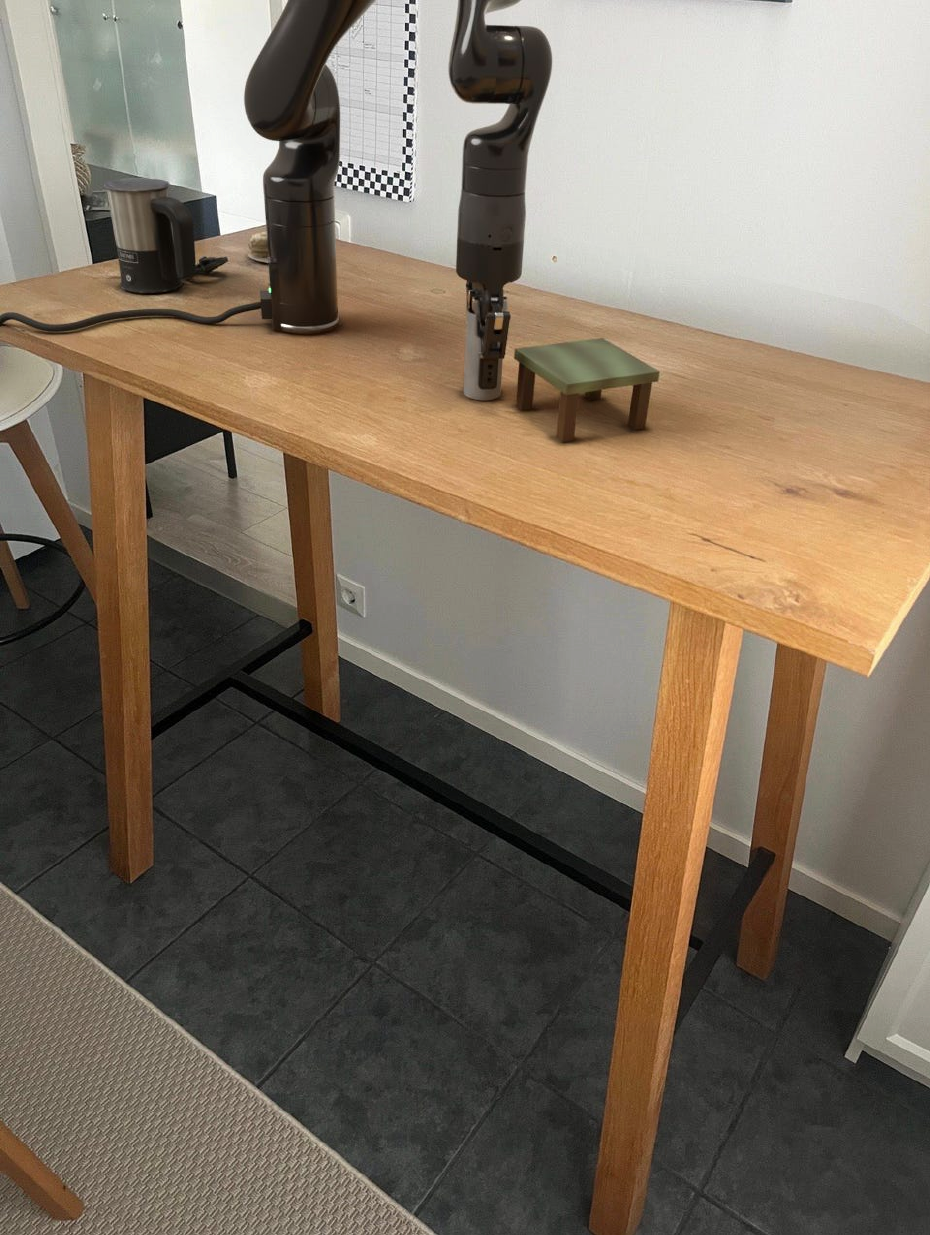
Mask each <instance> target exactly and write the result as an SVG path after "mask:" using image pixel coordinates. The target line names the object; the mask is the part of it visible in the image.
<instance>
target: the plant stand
mask: <svg viewBox="0 0 930 1235" xmlns="http://www.w3.org/2000/svg"><path fill="white" fill-rule="evenodd" d="M513 358H514V360H516V361H517V362H518V373H517V386H516V387H517V388H516V401H515V407H516V409H519V411H521V412H524V411H531V410H533V405H534V394H535V381H536V375H537V376H538V377H540V378H541V379H542V380H544V381H545V382H547V383H548V384H550V385H551V386H553V387H554V388H555V389H557V390H558V391H559V392H560V393H559V401H558V402H559V403H558V412H557V421H556V432H555V438H556V440H558V441H559V442H561V443H569V442H574V441H575V434H576V426H577V425H576V424H577V416H578V406H579V396H580V394H582V393H583V394H584V397H585V398H586V399H588V400H589V401H597V400H601V399H602V393H603V392H602V391H603V390H610V389H616V388H617V389H618V388H623V387H624V388H625V387H631V386H632V391H631V399H630V405H629V411H628V412H629V413H628V419H627V427H629V428H630V429H632V430H633V431H639V430H640V431H641V430H645V429H646V424H647V418H648V412H649V406H650V400H651V393H652V386H653V383H657V382H659V380H660V379H659V378H660V373H661V371H660V370H658V369H657V368H655V367H653V366H652V365H650V364H648V363H646V362H645V361H643V360H641V359H639V358H638V357H636V356H634V355H633V354H631V353H629V352H627V351H626V350H624V349H623V348H621V347H619V346H617V345H615V343H612V342H610V341H609V340H607V339H605V338H604V337H599V338H598V337H597V338H589V339H583V340H573V341H567V342H565V341H564V342H557V343H549V344H541V345H533V346H526V347H517V348H514V355H513Z"/></svg>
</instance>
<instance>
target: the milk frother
mask: <svg viewBox="0 0 930 1235" xmlns="http://www.w3.org/2000/svg"><path fill="white" fill-rule="evenodd" d="M103 186H104V188H105V189H106V193H107V199H108V204H109V211H110V217H111V222H112V229H113V234H114V239H115V245H116V251H117V258H118V266H119V272H120V281H121V282H120V287H121V289H122V290H124V291H126V292H130V293H135V294H158V293H166V292H170V291H175V290H177V289H180V288H181V287H182V286H183V281H182V280H188V279H191V278H193V277H196V276H198V275H200V274H204V275H205V276H208V275H209V274H211V273H212V272H213V271H215V270H217V269H218V268H219V267H222V266H223V265H225V264H226V263H228V262H229V259H228V257H227V256H221V257H215V256H208V257H207V256H202V257H200V258H199V259H198V262H196V261H197V260H196V245H195V229H194V222H193V221H194V220H193V217H192V214H191V213H190V211H189V209H188V208H187V206H186V205H185V204H184V203H183V202H182V200H181V201H180V200H179V199H177V198H174V197H170V194H169V193H170V192H169V187H170V186H171V184H170V182H169V181H167V180H165V179H158V178H150V177H149V178H147V177H142V178H141V177H136V178H135V177H134V178H133V177H131V178H121V179H116V180H109V181H107V182H105V183H104V184H103Z"/></svg>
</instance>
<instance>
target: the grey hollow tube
mask: <svg viewBox="0 0 930 1235" xmlns="http://www.w3.org/2000/svg"><path fill="white" fill-rule="evenodd" d="M474 320H475V314H474V313H473V311H472V308H471V307H469V308H468V309H467V308H466V324H465V346H464V347H465V349H464V350H465V351H464V370H463V395H464V396H465V397H467V398H468V399H470V400H471V399H472V400H475V401H492V400H496V399H498V398H499V397H500V396H501V389H502V377H503V376H502V375H503V364H504V359H499V360H498V375H497V387H496V388H495V389H480V388H479V386H478V367H479V356H478V352H479V339H478V338H476V337H475V335H474ZM481 329H482V330H483V331H485V326H483V325H482V324H481ZM489 348H495V342H492V343H490V345H489Z"/></svg>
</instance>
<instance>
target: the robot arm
mask: <svg viewBox="0 0 930 1235" xmlns="http://www.w3.org/2000/svg"><path fill="white" fill-rule="evenodd" d="M457 1H458V2H457V10H456V18H455V25H454V31H453V36H452V41H451V45H450V51H449V56H448V64H447V65H448V67H447V72H448V74H447V75H448V79H449V83H450V86H451V88H452V90H453V92H454V93H455V95H456V96H457V97H458V99H460V100H461V101H462V102H463V103H467V104H472V105H473V104H476V105H488V104H490V105H508V106H507V109H506V111H505V112H504V115H503V116H502V118H501V119H500V120H499V121H498V122H496V123H493V124H491V125H487V126H483V127H479V128H475V129H472V130H471V131H469V132H467V133H466V134H465V137H464V139H463V145H462V158H461V161H462V162H461V163H462V164H461V184H460V185H461V189H460V197H459V203H458V211H457V229H456V230H457V233H456V261H455V272H456V275H457V276H458V277H459V278H460V279H462V280H464V281H466V283H465V288H466V293H465V295H466V310H467V309H468V308H469V307H471V308H472V311H473V313H474V314H475V320H474V335H475V337H476V338H478V339H479V352H478V356H479V367H478V386H479V388H480V389H495V388H496V387H497V375H498V360H499V359H503V360H505V357H506V350H507V344H508V335H509V329H510V321H511V319H512V318H511V317H512V315H511V313H510V311H509V310H508V297H507V296H505V295H504V293H505V292H504V287H505V286H506V285H507V284H509V283H514V282H517V281H518V280H519V279H520V278H521V277H522V274H523V259H524V250H525V249H524V246H525V232H526V222H527V221H526V219H527V206H526V188H527V171H528V170H527V169H528V162H529V152H530V147H531V143H532V139H533V136H534V131H535V128H536V125H537V121H538V118H539V116H540V115H539V114H540V111H541V108H542V106H543V103H544V100H545V98H546V95H547V91H548V88H549V84H550V81H551V77H552V72H553V53H552V52H553V51H552V46H551V45H550V41H549V39H548V37H547V35H546V34H545V33H544V32H543V31H542V30H541V29H540V28H538V27H536V26H531V25H505V24H504V25H503V24H500V25H498V24H486V20H485V18H486V16H485V15H487V14H490V13H493V12H497V11H501V10H505V9H508V8H510V7H513V6H515V5H517V4H518V3H520V2H521V1H522V0H457ZM375 2H376V0H287V2H286V4H285V6H284V8H283V10H282V12H281V14H280V16H279V18H278V20H277V21H276V23H275V25H274V27H273V29H272V30H271V32H270V34H269V36H268V38H267V40H266V41H265V43H264V45H263V46H262V48H261V50H260V52H259V53H258V55H257V57H256V58H255V61H254V62H253V65H252V67H251V69H250V70H249V72H248V75H247V78H246V81H245V87H244V91H243V92H244V94H243V102H244V111H245V114H246V117H247V120H248V122H249V124H250V126H251V128H252V129H253V130H254V131H255V133H256V134H258V135H259V136H260V137H261V138H263V139H266V140H268V141H273V142H279V143H278V149H277V152H276V155H275V157H274V159H273V160H272V162H271V163H270V164H268V166H267V168H266V169H265V170H264V172H263V175H262V189H263V200H264V215H265V216H264V217H265V228H266V229H265V230H266V231H265V232H267V247H268V262H267V264H268V278H269V288H268V289H267V290H266V289H265V290H259V301H255V302H250V303H246V304H242V305H238V306H234V307H232V308H229V309H227V310H225V311H224V312H222V313H220V314H219V315H215V316H202V315H197V314H194V313H191V312H187V311H184V310H180V309H171V308H141V309H129V310H120V311H112V312H106V313H102V314H97V315H94V316H91V317H88V318H85V319H81V320H77V321H73V322H67V323H57V324H54V323H53V324H51V323H45V322H42V321H41V322H40V321H39V320H35V319H32V318H30V317H28V316H26V315H23V314H22V313H18V312H13V311H11V312H10V311H9V312H8V311H7V312H4V313H2V314H0V326H2V325H3V324H5V323H6V322H7V321H11V320H13V321H17V322H19V323H22V324H24V325H26V326H28V327H30V328H33V329H35V330H39V331H43V332H48V333H63V332H70V331H77V330H81V329H84V328H87V327H90V326H91V327H92V326H94V325H97V324H100V323H105V322H109V321H113V320H120V319H129V318H141V317H174V318H179V319H182V320H187V321H190V322H193V323H196V324H202V325H215V324H220V323H222V322H225V321H227V320H228V319H230V318H232V317H234V316H237V315H239V314H242V313H243V314H244V313H247V312H251V311H257V310H260V315H261V320H271V326H272V331H273V332H284V333H289V334H296V335H314V334H322V333H326V332H330V331H333V330H335V329H336V328H337V327H339V325H340V316H339V303H338V270H337V269H338V268H337V238H336V236H337V235H336V206H335V205H336V204H335V183H336V179H337V176H338V174H339V169H340V162H341V161H340V160H341V101H340V94H339V89H338V83H337V82H336V81H337V80H336V78H335V76H334V74H333V72H332V70H331V68H330V67H329V66H328V65H327V62H328V60H329V58H330V56H331V54H332V53H333V51H334V49H335V48H336V47H337V45H338V44H339V42H340V41H341V40H342V39H343V37H344V36H345V35H346V33H348V31H350V29H351V28H352V27H353V26H354V25H355V24H356V23H357V22H358V21H359V20H360V19H361V17H363V16H364V15H365V13H366V12H367V11H368V10H369V9H370V8H371V7H372V6H373V4H374V3H375ZM481 324H482V325H483V326H485V331H483V330H482V329H481ZM492 342H495V348H489V345H490V343H492Z"/></svg>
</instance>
